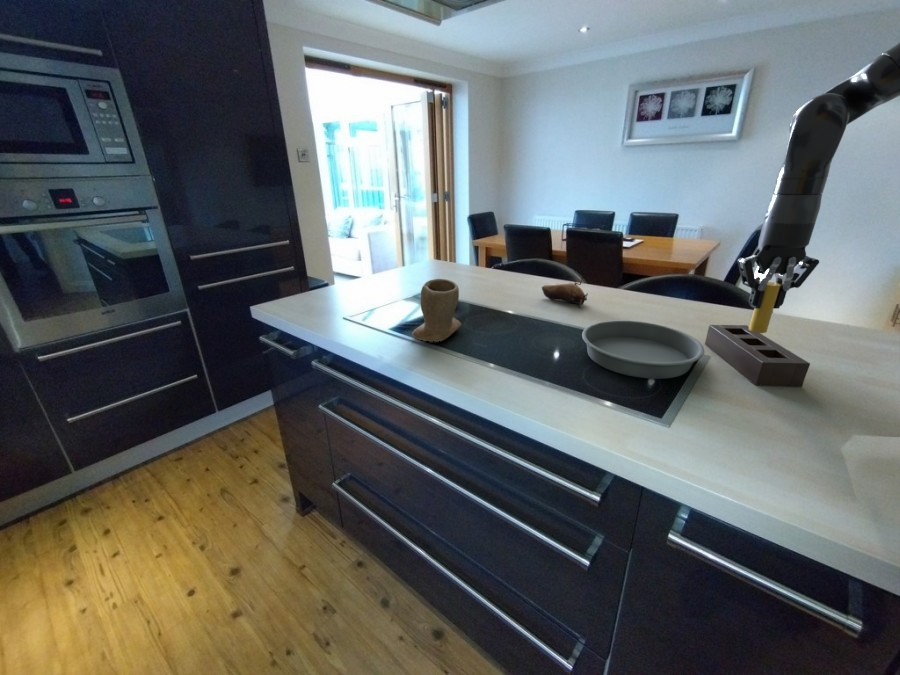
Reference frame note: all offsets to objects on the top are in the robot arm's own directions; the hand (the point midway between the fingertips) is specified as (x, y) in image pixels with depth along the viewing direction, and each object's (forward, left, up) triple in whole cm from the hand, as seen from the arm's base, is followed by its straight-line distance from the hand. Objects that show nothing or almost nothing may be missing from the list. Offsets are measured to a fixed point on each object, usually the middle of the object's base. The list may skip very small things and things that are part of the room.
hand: (764, 307), depth 79 cm
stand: (0, 0, -13) cm, 13 cm away
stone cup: (+70, +5, -13) cm, 71 cm away
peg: (0, 0, -5) cm, 5 cm away
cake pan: (+22, +4, -13) cm, 26 cm away
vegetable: (+43, -33, -13) cm, 56 cm away
